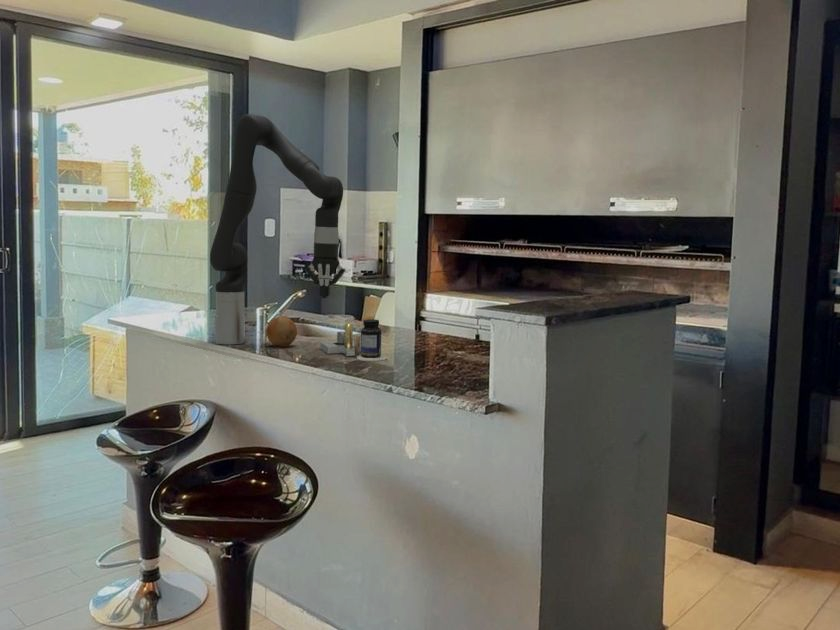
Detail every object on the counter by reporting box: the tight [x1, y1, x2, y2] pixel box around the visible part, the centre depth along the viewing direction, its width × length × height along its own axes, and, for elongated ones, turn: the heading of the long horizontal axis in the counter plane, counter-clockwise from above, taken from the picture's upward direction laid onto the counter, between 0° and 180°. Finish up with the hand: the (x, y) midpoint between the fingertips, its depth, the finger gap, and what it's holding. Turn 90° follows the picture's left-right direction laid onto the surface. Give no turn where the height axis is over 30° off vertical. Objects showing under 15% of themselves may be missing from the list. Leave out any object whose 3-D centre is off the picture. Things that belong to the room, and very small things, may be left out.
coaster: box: [356, 354, 388, 362], centre depth 231 cm, size 9×9×1 cm
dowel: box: [353, 335, 361, 357], centre depth 235 cm, size 2×2×6 cm
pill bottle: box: [360, 318, 382, 358], centre depth 230 cm, size 6×6×11 cm
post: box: [336, 331, 345, 345], centre depth 244 cm, size 3×3×6 cm
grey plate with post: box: [319, 323, 361, 357], centre depth 241 cm, size 18×12×9 cm
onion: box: [266, 315, 298, 348], centre depth 251 cm, size 10×10×10 cm
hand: (324, 297), depth 238 cm, fingers closed
